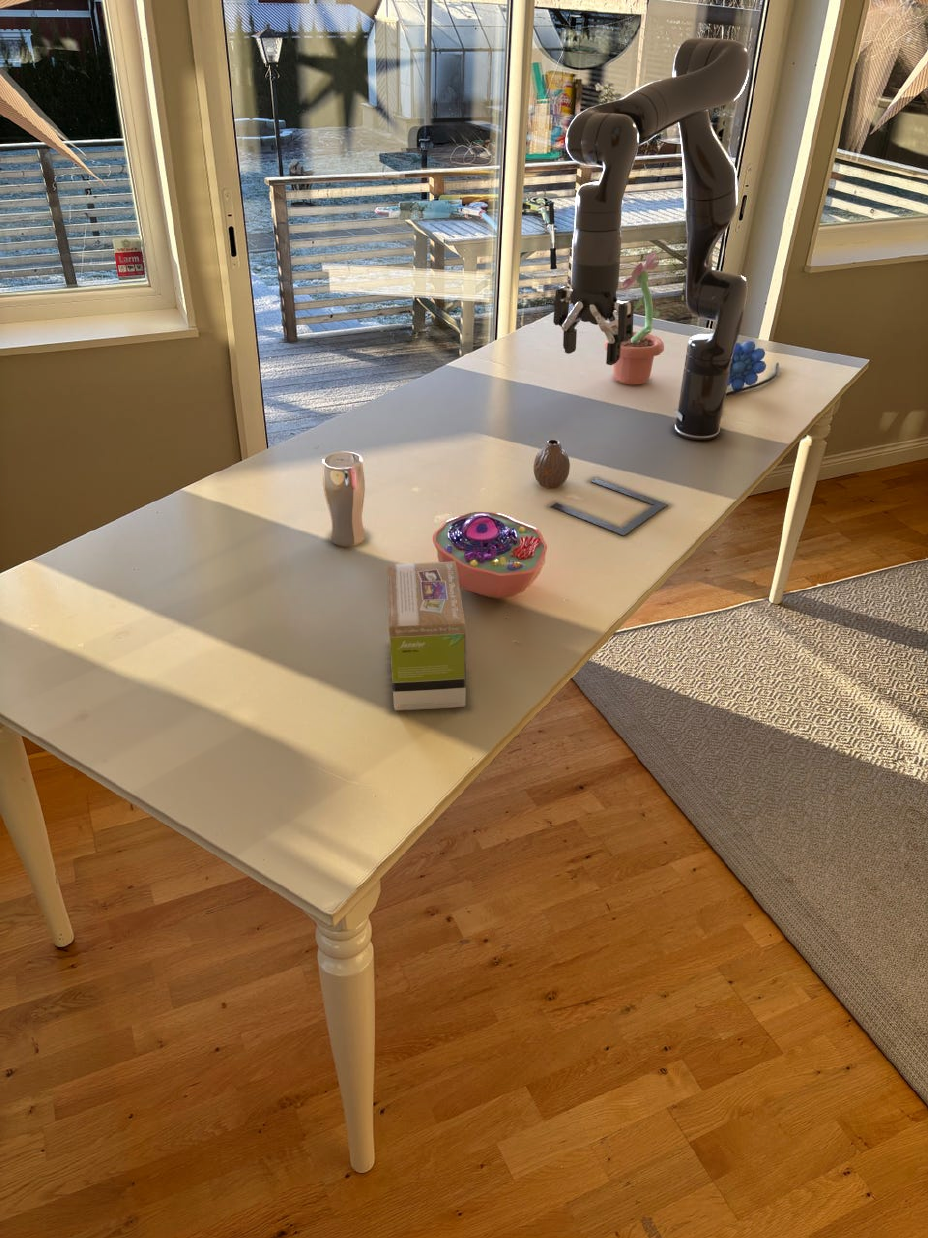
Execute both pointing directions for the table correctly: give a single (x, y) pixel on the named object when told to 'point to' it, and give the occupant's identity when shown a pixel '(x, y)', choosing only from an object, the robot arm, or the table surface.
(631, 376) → the decorative flower
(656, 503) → the tape u shape
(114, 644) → the table surface
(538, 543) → the cell model
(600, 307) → the robot arm
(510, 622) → the table surface
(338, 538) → the beer glass
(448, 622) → the tea box
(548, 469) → the vase
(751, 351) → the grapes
